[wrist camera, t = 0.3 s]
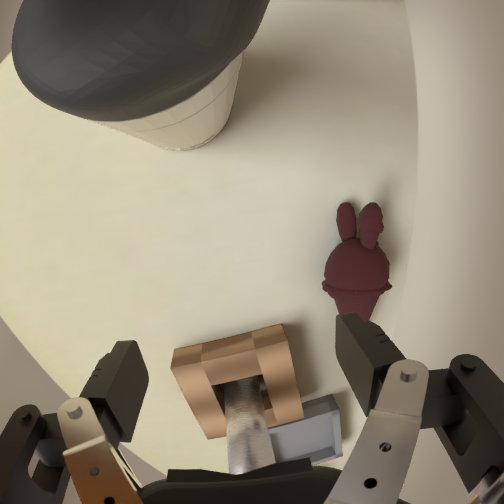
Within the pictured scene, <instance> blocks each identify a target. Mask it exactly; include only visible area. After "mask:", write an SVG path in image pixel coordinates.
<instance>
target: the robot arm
mask: <svg viewBox="0 0 504 504" xmlns="http://www.w3.org/2000/svg"><path fill="white" fill-rule="evenodd" d="M269 1H270V0H23V2H22V4H21V7H20V9H19V12H18V14H17V18H16V21H15V25H14V29H13V36H12V56H13V61H14V66H15V69H16V71H17V74H18V76H19V78H20V80H21V81H22V83H23V84H24V85H25V87H26V88H27V89H28V90H29V91H30V92H31V93H32V94H33V95H34V96H35V97H36V98H38V99H39V100H41V101H42V102H44V103H45V104H47V105H49V106H51V107H53V108H56V109H58V110H61V111H64V112H66V113H69V114H72V115H75V116H78V117H81V118H84V119H87V120H90V121H92V122H95V123H98V124H101V125H104V126H107V127H110V128H112V129H115V130H118V131H120V132H123V133H126V134H128V135H131V136H133V137H136V138H139V139H141V140H144V141H146V142H149V143H151V144H154V145H156V146H159V147H161V148H164V149H168V150H177V151H184V150H189V149H194V148H197V147H199V146H202V145H204V144H206V143H207V142H209V141H210V140H212V139H213V138H214V137H215V136H216V135H217V134H218V133H220V131H221V130H222V129H223V127H224V126H225V124H226V122H227V120H228V118H229V116H230V112H231V108H232V103H233V99H234V95H235V90H236V85H237V81H238V76H239V71H240V67H241V62H242V58H243V53H244V49H245V48H246V47H247V46H248V45H249V43H250V42H251V40H252V39H253V37H254V36H255V34H256V32H257V30H258V28H259V26H260V23H261V21H262V18H263V16H264V13H265V11H266V8H267V6H268V3H269ZM335 348H336V356H337V359H338V362H339V364H340V366H341V368H342V370H343V372H344V374H345V376H346V378H347V380H348V382H349V384H350V386H351V388H352V390H353V392H354V394H355V396H356V398H357V400H358V402H359V404H360V406H361V408H362V410H363V412H364V414H365V416H366V417H368V418H367V420H366V423H365V425H364V427H363V429H362V432H361V434H360V436H359V438H358V440H357V442H356V445H355V447H354V449H353V451H352V453H351V455H350V457H349V459H348V461H347V463H346V465H345V467H344V469H343V471H342V470H339V469H335V468H330V467H323V466H312V464H311V460H310V457H308V458H302V459H297V460H291V461H285V462H279V463H273V464H270V465H268V466H265V467H262V468H258V469H255V470H252V471H249V472H246V473H242V474H228V473H221V472H214V471H208V470H203V469H188V470H183V469H168V474H167V479H162V480H159V481H155V482H153V483H150V484H148V485H146V486H144V487H143V486H142V485H141V483H140V482H139V481H138V479H137V477H136V476H135V474H134V473H133V471H132V470H131V468H130V466H129V465H128V463H127V461H126V460H125V458H124V456H123V455H122V453H121V451H120V450H119V448H118V445H119V442H130V443H131V440H132V436H133V433H134V429H135V426H136V423H137V419H138V416H139V413H140V409H141V406H142V403H143V400H144V396H145V393H146V390H147V387H148V383H149V376H148V371H147V368H146V365H145V363H144V360H143V357H142V355H141V352H140V349H139V346H138V344H137V342H136V341H135V340H129V341H117V342H116V344H115V346H114V347H113V349H112V351H111V353H107V354H106V355H105V356H104V357H103V358H102V359H100V360H99V362H98V364H97V365H96V367H95V370H94V371H93V372H92V374H91V377H90V378H89V380H88V381H87V383H86V385H85V387H84V389H83V391H82V392H81V394H80V396H79V397H76V398H72V399H69V400H67V401H65V402H64V403H63V404H62V405H61V406H60V407H59V409H58V411H57V413H52V414H45V415H42V413H41V412H40V410H39V409H38V408H37V407H36V406H35V405H24V406H22V407H20V408H18V409H17V410H16V411H15V412H14V413H13V414H12V416H11V418H10V419H9V421H8V423H7V425H6V426H5V428H4V430H3V432H2V434H1V435H0V504H62V503H63V499H64V496H65V492H66V489H67V485H68V482H69V479H70V476H71V479H72V481H73V484H74V486H75V489H76V491H77V493H78V496H79V498H80V501H81V503H82V504H410V503H408V502H406V501H403V500H401V499H399V498H398V497H399V495H400V492H401V489H402V487H403V484H404V481H405V478H406V475H407V472H408V469H409V466H410V463H411V459H412V456H413V452H414V449H415V445H416V442H417V438H418V434H419V430H420V429H425V428H434V429H435V431H436V433H437V435H438V436H439V438H440V440H441V442H442V444H443V445H444V447H445V449H446V451H447V453H448V455H449V456H450V458H451V460H452V462H453V464H454V466H455V468H456V469H457V471H458V473H459V475H460V477H461V479H462V481H463V483H464V485H465V487H466V489H467V491H468V493H469V495H468V496H467V498H466V500H465V503H464V504H504V383H503V382H502V381H501V380H500V379H499V378H498V377H497V376H496V374H495V373H494V372H493V371H492V370H491V369H490V368H489V367H488V366H487V365H486V364H485V363H484V362H483V360H481V359H480V358H479V357H477V356H474V355H470V354H462V355H458V356H456V357H455V358H454V359H452V361H451V363H450V366H449V368H448V369H439V370H428V369H427V367H426V366H425V365H424V364H422V363H421V362H419V361H415V360H410V359H406V358H405V357H404V355H403V354H402V353H401V352H400V350H399V349H398V348H397V347H396V346H395V344H394V343H393V342H392V341H390V338H389V337H388V336H387V335H385V332H384V331H383V330H382V329H381V327H380V326H378V325H377V324H375V323H373V322H371V321H366V322H364V321H363V320H362V319H361V318H360V316H359V315H358V314H357V313H356V312H355V311H354V312H349V313H344V314H339V315H337V316H336V346H335ZM33 453H35V454H36V455H37V457H38V458H39V461H38V464H37V466H36V469H35V471H34V474H33V476H32V479H31V478H30V476H29V474H28V465H29V463H30V460H31V458H32V456H33Z"/></svg>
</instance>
